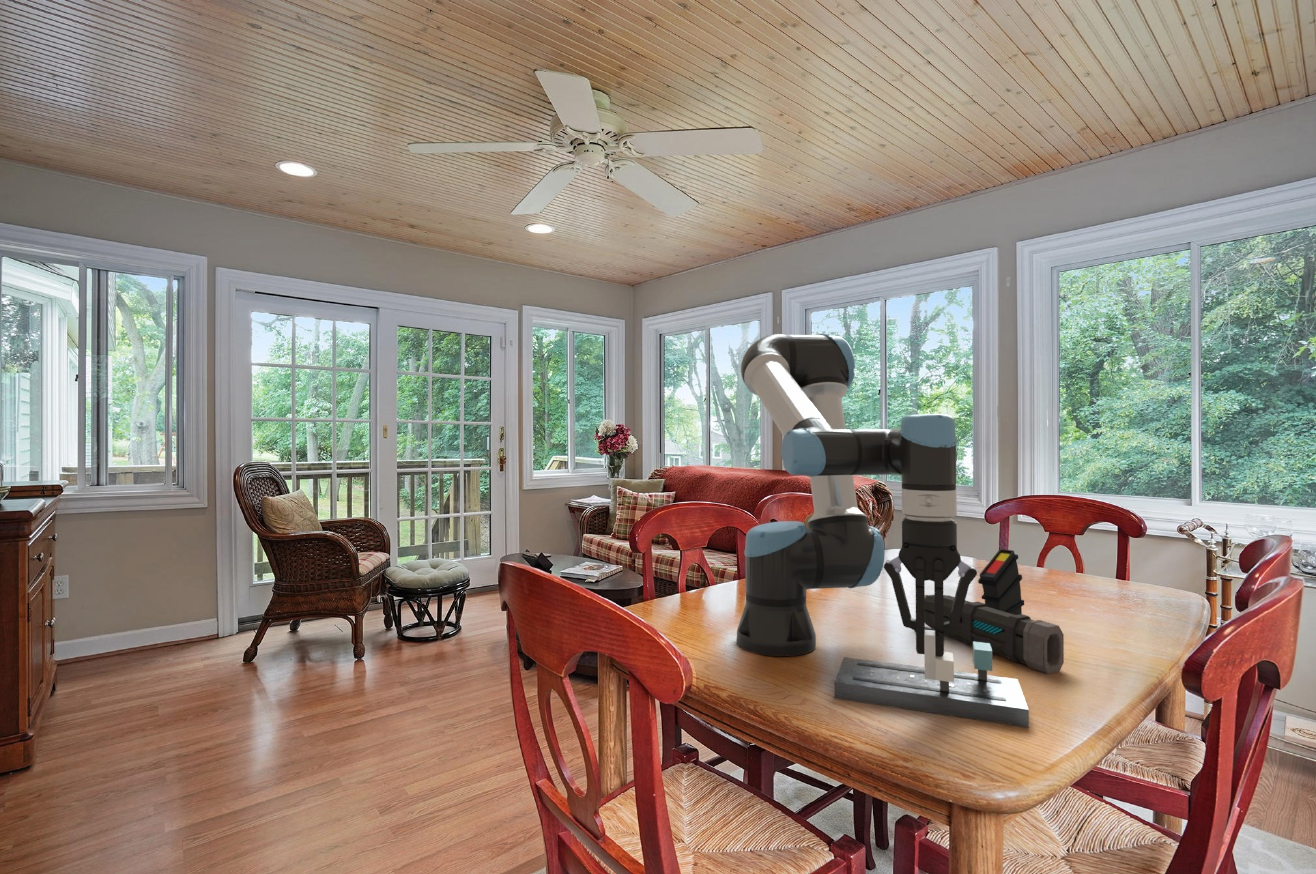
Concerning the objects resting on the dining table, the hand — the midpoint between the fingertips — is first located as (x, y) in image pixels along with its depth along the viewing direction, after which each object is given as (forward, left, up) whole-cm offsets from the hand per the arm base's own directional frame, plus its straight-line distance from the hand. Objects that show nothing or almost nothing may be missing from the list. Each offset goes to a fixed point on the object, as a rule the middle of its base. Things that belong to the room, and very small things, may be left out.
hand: (930, 676), depth 94 cm
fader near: (+2, 0, -2) cm, 3 cm away
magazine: (+14, +54, -5) cm, 57 cm away
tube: (+9, +33, -5) cm, 34 cm away
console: (-1, +4, -5) cm, 6 cm away
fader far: (+7, +7, -2) cm, 10 cm away
